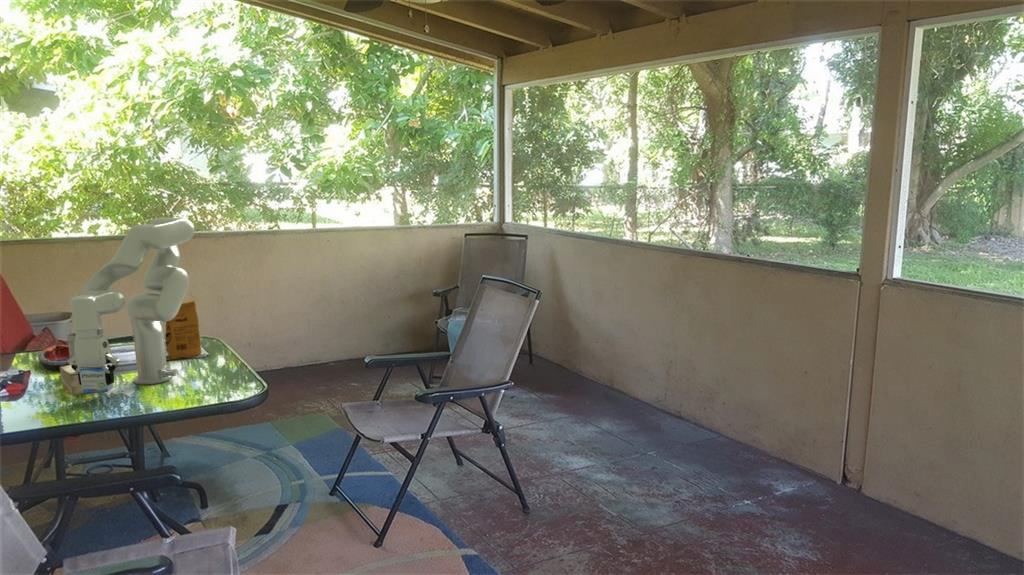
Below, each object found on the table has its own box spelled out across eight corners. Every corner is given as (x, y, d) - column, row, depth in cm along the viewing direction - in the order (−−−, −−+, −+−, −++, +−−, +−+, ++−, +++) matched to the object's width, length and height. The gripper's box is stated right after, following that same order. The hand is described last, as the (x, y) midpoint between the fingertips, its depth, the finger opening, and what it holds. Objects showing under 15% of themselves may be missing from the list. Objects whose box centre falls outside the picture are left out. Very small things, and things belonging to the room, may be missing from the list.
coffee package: (165, 355, 286) (160, 302, 282) (198, 350, 293) (193, 298, 289) (170, 360, 278) (164, 306, 274) (203, 355, 285) (198, 302, 281)
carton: (97, 380, 252) (95, 362, 251) (108, 388, 244) (106, 368, 243) (62, 388, 245) (60, 368, 243) (73, 395, 236) (70, 375, 235)
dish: (40, 376, 259) (39, 363, 258) (38, 357, 284) (36, 345, 283) (89, 369, 268) (87, 356, 267) (82, 351, 293) (81, 340, 292)
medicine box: (82, 394, 230) (78, 369, 228) (88, 389, 234) (84, 364, 232) (108, 392, 231) (104, 367, 229) (113, 387, 235) (109, 363, 233)
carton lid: (95, 361, 251) (95, 360, 251) (106, 367, 243) (106, 365, 243) (59, 368, 243) (59, 366, 243) (70, 374, 235) (69, 372, 235)
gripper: (121, 330, 231) (129, 379, 235) (71, 330, 232) (79, 379, 236) (107, 336, 224) (115, 387, 228) (55, 336, 225) (64, 387, 229)
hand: (97, 383), depth 232 cm, fingers closed on medicine box, 8 cm apart
